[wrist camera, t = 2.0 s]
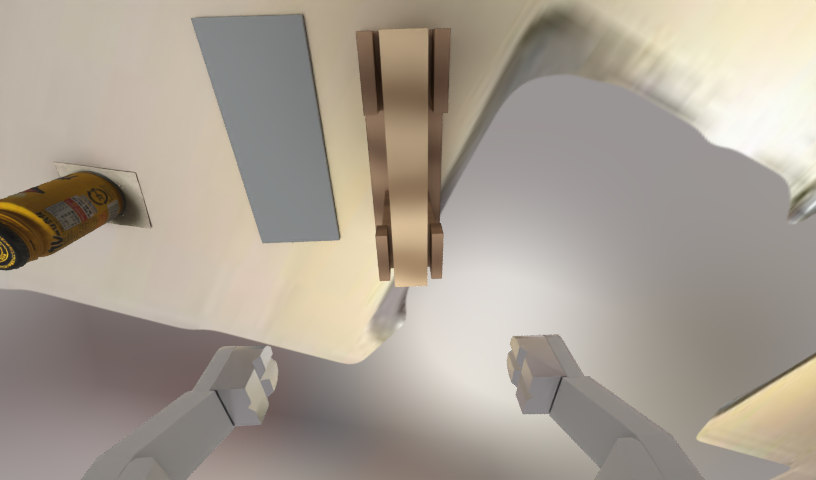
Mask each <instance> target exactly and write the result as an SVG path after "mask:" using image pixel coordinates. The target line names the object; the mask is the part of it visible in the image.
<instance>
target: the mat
mask: <svg viewBox="0 0 816 480" xmlns="http://www.w3.org/2000/svg"><path fill="white" fill-rule="evenodd" d="M191 20H192V23H193V27H194V30H195V33H196V36H197V39H198V42H199V45H200V48H201V52H202V55H203V58H204V61H205V64H206V67H207V70H208V74H209V77H210V80H211V83H212V86H213V89H214V92H215V96H216V99H217V102H218V105H219V108H220V111H221V114H222V117H223V121H224V124H225V127H226V130H227V133H228V136H229V139H230V143H231V146H232V149H233V152H234V155H235V158H236V161H237V165H238V168H239V171H240V174H241V177H242V180H243V183H244V187H245V190H246V193H247V196H248V199H249V202H250V205H251V208H252V212H253V215H254V218H255V221H256V224H257V227H258V230H259V234H260V237H261V240H262V243H281V242H306V241H331V240H339V239H340V235H339V229H338V223H337V217H336V211H335V205H334V199H333V193H332V186H331V180H330V174H329V168H328V162H327V156H326V150H325V144H324V138H323V132H322V126H321V120H320V114H319V108H318V102H317V96H316V90H315V84H314V78H313V72H312V66H311V59H310V53H309V47H308V41H307V35H306V29H305V23H304V17H303V15H272V16H241V17H210V18H191Z"/></svg>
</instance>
